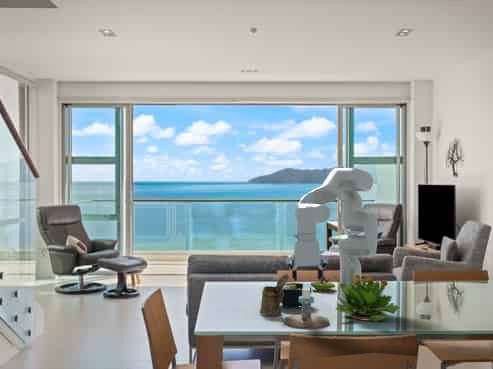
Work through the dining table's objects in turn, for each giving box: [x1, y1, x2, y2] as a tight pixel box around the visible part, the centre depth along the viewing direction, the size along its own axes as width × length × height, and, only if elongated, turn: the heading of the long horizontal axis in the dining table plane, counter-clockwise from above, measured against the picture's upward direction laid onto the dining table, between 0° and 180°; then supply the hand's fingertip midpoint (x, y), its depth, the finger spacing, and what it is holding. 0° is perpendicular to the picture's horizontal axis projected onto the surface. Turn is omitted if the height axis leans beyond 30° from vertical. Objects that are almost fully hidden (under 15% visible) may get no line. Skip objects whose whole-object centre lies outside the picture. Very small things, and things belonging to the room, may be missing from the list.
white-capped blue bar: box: [299, 283, 315, 304], centre depth 239 cm, size 14×6×6 cm, turn 174°
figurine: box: [309, 259, 336, 292], centre depth 308 cm, size 14×13×15 cm
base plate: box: [283, 303, 330, 329], centre depth 239 cm, size 18×18×8 cm
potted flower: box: [335, 273, 400, 322], centre depth 248 cm, size 25×24×18 cm
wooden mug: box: [259, 273, 289, 316], centre depth 253 cm, size 9×14×18 cm, turn 49°
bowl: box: [274, 282, 312, 308], centre depth 270 cm, size 17×17×10 cm
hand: (307, 279), depth 240 cm, fingers open, 9 cm apart
